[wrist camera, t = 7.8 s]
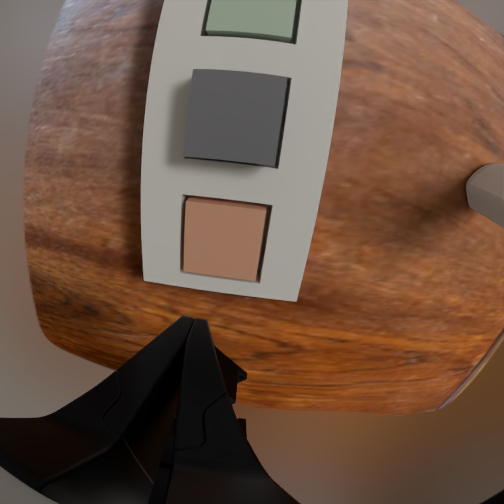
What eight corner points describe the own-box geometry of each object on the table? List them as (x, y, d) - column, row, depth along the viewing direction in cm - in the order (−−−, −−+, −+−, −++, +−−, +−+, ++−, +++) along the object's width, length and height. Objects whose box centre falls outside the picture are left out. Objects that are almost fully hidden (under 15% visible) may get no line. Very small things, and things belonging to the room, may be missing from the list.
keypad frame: (292, 280, 20) (296, 301, 18) (156, 262, 20) (143, 280, 17) (338, -8, 11) (349, -24, 9) (185, -22, 11) (175, -39, 8)
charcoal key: (272, 161, 14) (274, 166, 13) (192, 152, 14) (183, 156, 13) (284, 83, 13) (287, 77, 11) (201, 75, 12) (193, 69, 11)
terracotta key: (256, 265, 19) (255, 281, 17) (190, 256, 18) (183, 271, 17) (265, 201, 17) (266, 210, 15) (194, 192, 17) (185, 201, 15)
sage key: (287, 47, 13) (291, 37, 11) (211, 40, 12) (205, 30, 11) (295, -9, 11) (299, -23, 9) (222, -15, 11) (218, -29, 9)
